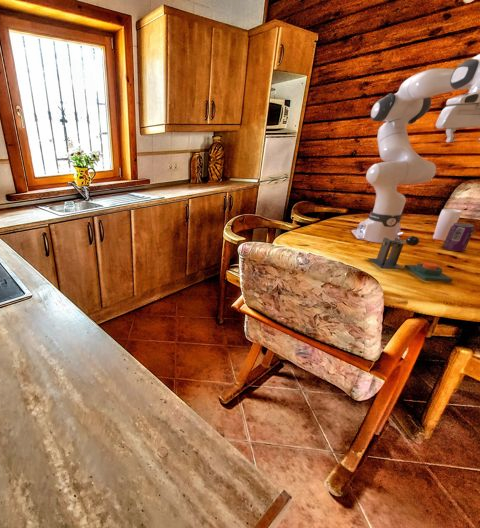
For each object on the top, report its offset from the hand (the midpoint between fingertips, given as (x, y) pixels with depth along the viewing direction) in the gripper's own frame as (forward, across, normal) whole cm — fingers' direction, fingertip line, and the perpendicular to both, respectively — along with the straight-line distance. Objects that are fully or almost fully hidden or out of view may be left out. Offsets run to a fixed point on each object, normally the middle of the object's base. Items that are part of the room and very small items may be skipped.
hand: (465, 141), depth 99 cm
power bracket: (+48, +13, +5) cm, 50 cm away
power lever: (+37, +13, +11) cm, 41 cm away
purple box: (+48, -26, -18) cm, 57 cm away
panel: (+48, +4, +14) cm, 50 cm away
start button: (+44, +4, +14) cm, 47 cm away
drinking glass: (+48, -30, -33) cm, 65 cm away
